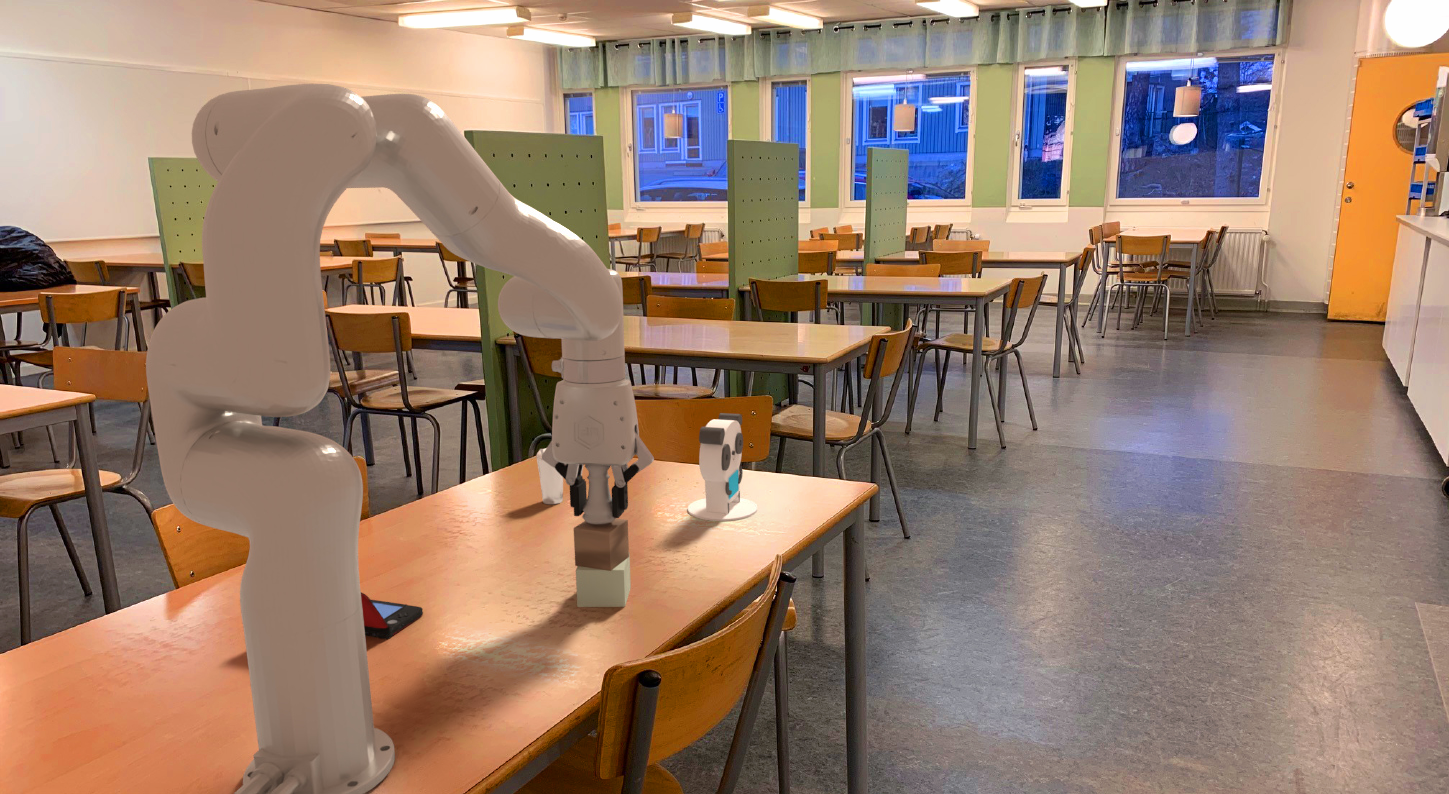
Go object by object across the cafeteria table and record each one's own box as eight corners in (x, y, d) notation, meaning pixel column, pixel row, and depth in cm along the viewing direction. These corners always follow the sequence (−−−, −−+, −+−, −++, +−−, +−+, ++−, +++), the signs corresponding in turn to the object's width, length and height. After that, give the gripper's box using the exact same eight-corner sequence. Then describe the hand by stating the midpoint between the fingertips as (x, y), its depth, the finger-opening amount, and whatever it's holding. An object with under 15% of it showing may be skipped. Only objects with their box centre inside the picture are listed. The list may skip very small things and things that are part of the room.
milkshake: (531, 506, 161) (528, 447, 159) (546, 496, 166) (543, 439, 164) (556, 508, 159) (553, 449, 157) (571, 498, 164) (568, 441, 162)
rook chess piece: (611, 526, 120) (609, 463, 118) (577, 524, 120) (574, 462, 119) (622, 514, 124) (620, 454, 122) (589, 512, 125) (586, 452, 123)
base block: (625, 607, 122) (623, 570, 120) (577, 607, 122) (575, 570, 121) (630, 588, 127) (629, 552, 126) (585, 588, 128) (583, 552, 126)
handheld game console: (427, 615, 120) (423, 559, 119) (369, 654, 110) (364, 593, 109) (344, 603, 124) (339, 548, 123) (281, 639, 114) (275, 580, 113)
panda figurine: (744, 525, 150) (743, 431, 147) (676, 518, 154) (674, 426, 151) (765, 501, 161) (765, 413, 158) (701, 496, 165) (699, 410, 162)
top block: (610, 571, 120) (609, 532, 119) (575, 565, 122) (573, 528, 121) (629, 556, 125) (627, 519, 124) (594, 552, 127) (593, 515, 126)
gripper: (517, 374, 116) (525, 520, 120) (653, 378, 113) (657, 527, 117) (539, 364, 123) (546, 501, 127) (668, 366, 120) (671, 507, 124)
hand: (599, 512), depth 122 cm, fingers closed on rook chess piece, 4 cm apart
